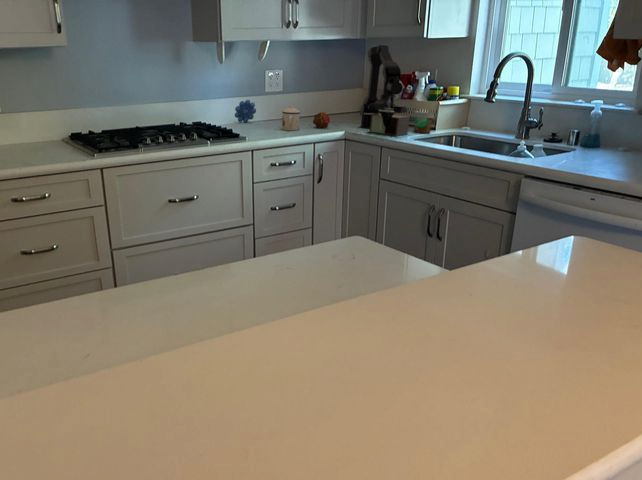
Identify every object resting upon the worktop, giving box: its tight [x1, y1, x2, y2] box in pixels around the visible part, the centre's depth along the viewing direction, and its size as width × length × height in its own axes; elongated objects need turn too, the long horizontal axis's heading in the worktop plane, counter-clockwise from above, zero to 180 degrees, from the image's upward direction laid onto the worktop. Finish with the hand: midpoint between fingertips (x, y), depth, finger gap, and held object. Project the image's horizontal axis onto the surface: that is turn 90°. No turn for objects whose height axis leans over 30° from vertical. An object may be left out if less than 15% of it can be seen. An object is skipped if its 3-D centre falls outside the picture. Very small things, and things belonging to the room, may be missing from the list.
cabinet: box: [366, 113, 410, 138], centre depth 308 cm, size 16×12×9 cm
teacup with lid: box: [281, 105, 301, 132], centre depth 311 cm, size 12×9×12 cm
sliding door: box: [371, 116, 386, 133], centre depth 305 cm, size 8×3×8 cm, turn 46°
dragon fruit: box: [312, 111, 331, 129], centre depth 322 cm, size 8×8×12 cm
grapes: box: [234, 99, 257, 124], centre depth 331 cm, size 12×7×12 cm, turn 84°
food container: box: [413, 110, 435, 135], centre depth 314 cm, size 12×6×10 cm, turn 25°
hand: (385, 126), depth 301 cm, fingers closed
